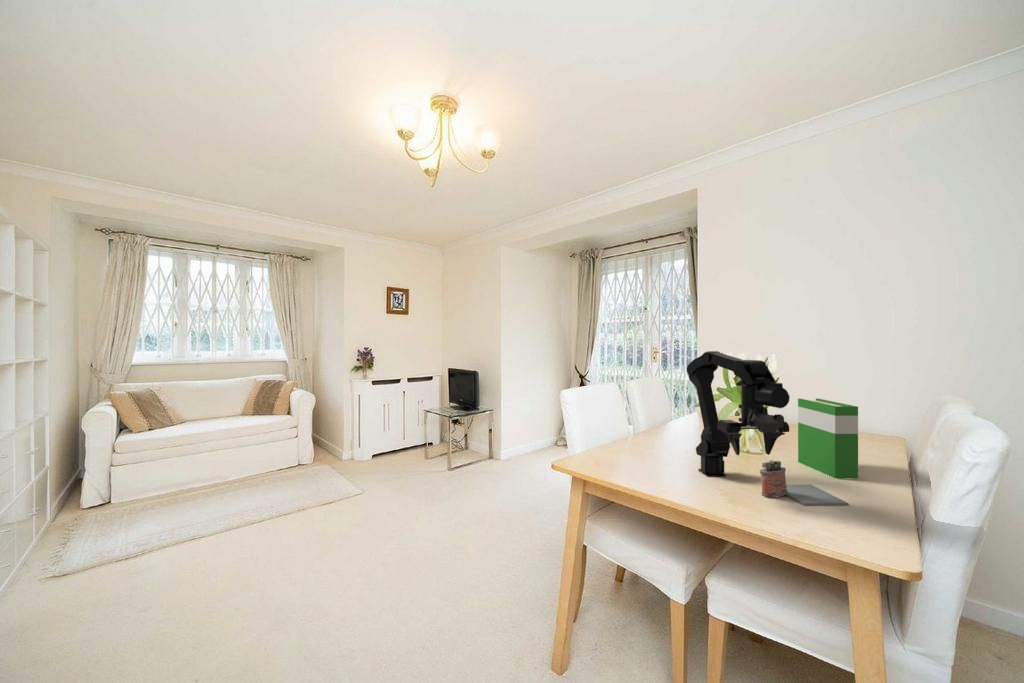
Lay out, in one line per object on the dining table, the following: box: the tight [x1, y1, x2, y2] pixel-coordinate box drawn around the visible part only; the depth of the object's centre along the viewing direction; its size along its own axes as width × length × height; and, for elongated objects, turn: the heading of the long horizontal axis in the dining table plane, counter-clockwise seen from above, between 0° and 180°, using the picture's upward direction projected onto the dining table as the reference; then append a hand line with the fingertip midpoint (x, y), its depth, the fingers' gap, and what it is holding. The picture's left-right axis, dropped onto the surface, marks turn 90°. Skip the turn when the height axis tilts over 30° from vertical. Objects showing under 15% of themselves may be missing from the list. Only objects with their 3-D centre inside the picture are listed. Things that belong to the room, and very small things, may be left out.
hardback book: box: [797, 397, 859, 479], centre depth 138 cm, size 18×7×24 cm, turn 178°
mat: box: [785, 483, 850, 506], centre depth 116 cm, size 12×14×1 cm
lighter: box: [759, 459, 788, 499], centre depth 116 cm, size 8×3×10 cm, turn 103°
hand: (752, 454), depth 116 cm, fingers open, 9 cm apart
